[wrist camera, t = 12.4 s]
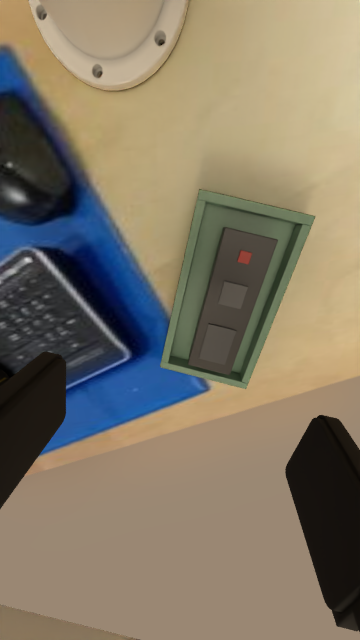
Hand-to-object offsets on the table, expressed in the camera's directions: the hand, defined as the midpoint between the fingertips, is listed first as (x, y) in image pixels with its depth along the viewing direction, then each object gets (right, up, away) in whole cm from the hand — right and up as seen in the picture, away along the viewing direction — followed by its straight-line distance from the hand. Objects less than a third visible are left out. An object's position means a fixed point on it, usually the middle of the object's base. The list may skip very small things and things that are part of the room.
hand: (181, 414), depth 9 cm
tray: (+5, +6, +17) cm, 19 cm away
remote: (+5, +6, +17) cm, 18 cm away
